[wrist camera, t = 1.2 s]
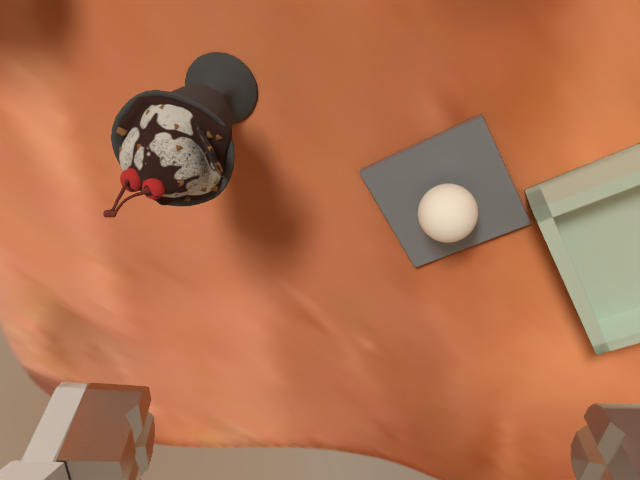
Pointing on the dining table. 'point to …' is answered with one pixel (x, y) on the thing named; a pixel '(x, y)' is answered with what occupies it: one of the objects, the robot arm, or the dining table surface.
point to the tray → (597, 243)
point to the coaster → (446, 168)
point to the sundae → (184, 134)
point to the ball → (448, 213)
